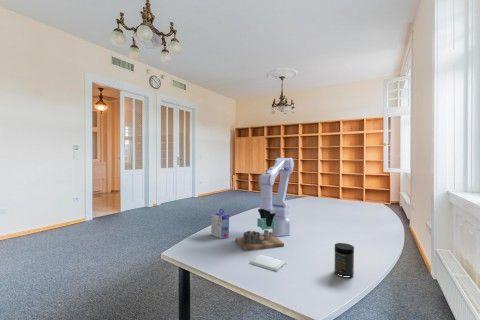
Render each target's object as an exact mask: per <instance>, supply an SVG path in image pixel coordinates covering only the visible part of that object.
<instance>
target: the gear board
mask: <svg viewBox="0 0 480 320" xmlns="http://www.w3.org/2000/svg"><path fill="white" fill-rule="evenodd" d="M263 231H264V232H263V234H260V232H259V231H256V230H247V231H245V232H243V236H238V237H235V242H236V243H237V244H238V245H239V246H240V247H241V248H242V249H243V251H245V252H250V251H258V250H267V249H274V248H283V247H285V242H284V241H282V240H280V239H278V237H275V236H274V235H272V234H271V233H269V232H270V230H269V229H265V230H263Z"/></svg>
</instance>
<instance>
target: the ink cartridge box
mask: <svg viewBox="0 0 480 320" xmlns="http://www.w3.org/2000/svg"><path fill="white" fill-rule="evenodd" d="M224 212H225V209H223V208H219V211H218V212H211V220H210V221H211V223H210V224H211V226H210V230H211V231H210V232H211V233H210V235H211V236H214V237H216V238H218V239H221V240H222V239H226V238H229V237H230V235H229V234H230V214H228V213H224Z"/></svg>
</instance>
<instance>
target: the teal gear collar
mask: <svg viewBox="0 0 480 320" xmlns="http://www.w3.org/2000/svg"><path fill="white" fill-rule="evenodd" d="M256 220H257V222H256V223H257V224H256V225H257V227H258V228H260V229H261V230H262V231H264V230H272V229H275V220H273V221H272V225H271V226H269V227H267V225H266V218H261V217H258V218H257V219H256Z"/></svg>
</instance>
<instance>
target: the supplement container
mask: <svg viewBox="0 0 480 320" xmlns="http://www.w3.org/2000/svg"><path fill="white" fill-rule="evenodd" d="M333 265H334V268H333V270H334V273H335V272H336V273H337V274H339V275H342V276H352V277H353V276H354V274H355V273H354V272H355V271H354V270H355V247H354V246H353V245H352V244H349V243H345V242H337V243H335V244H334V264H333ZM336 273H335V274H336ZM337 274H336V275H337ZM339 275H338V276H339Z"/></svg>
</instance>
